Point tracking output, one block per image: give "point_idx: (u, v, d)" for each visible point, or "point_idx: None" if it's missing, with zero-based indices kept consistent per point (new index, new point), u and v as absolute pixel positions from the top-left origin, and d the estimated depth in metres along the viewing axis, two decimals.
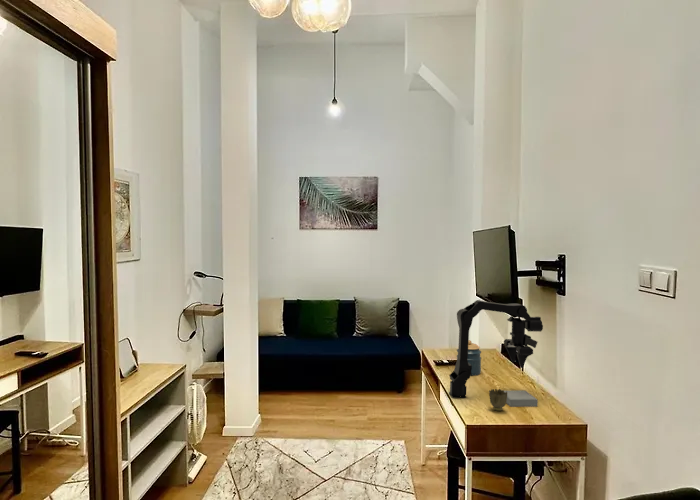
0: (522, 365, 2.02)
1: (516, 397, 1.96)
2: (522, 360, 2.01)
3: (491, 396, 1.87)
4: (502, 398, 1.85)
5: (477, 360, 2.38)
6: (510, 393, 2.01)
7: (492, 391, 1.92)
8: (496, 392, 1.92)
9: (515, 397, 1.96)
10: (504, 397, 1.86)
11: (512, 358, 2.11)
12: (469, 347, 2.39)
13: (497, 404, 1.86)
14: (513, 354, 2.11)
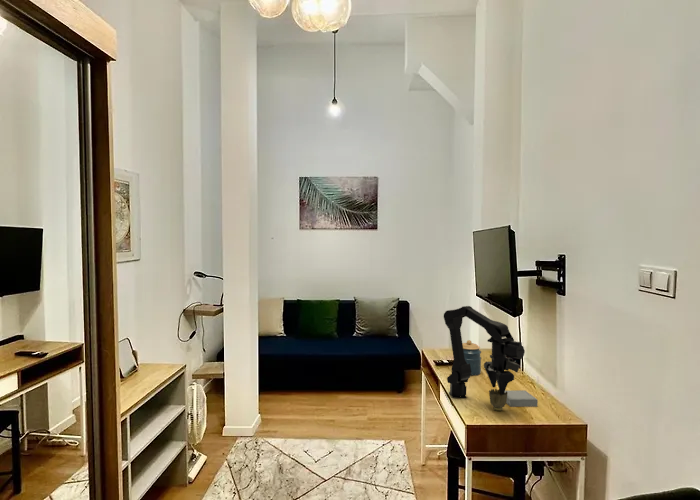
0: (502, 392, 1.84)
1: (516, 397, 1.96)
2: (502, 386, 1.83)
3: (491, 396, 1.87)
4: (502, 398, 1.85)
5: (477, 360, 2.38)
6: (510, 393, 2.01)
7: (492, 391, 1.92)
8: (496, 392, 1.92)
9: (515, 397, 1.96)
10: (504, 397, 1.86)
11: (493, 383, 1.93)
12: (469, 347, 2.39)
13: (497, 404, 1.86)
14: (494, 379, 1.93)
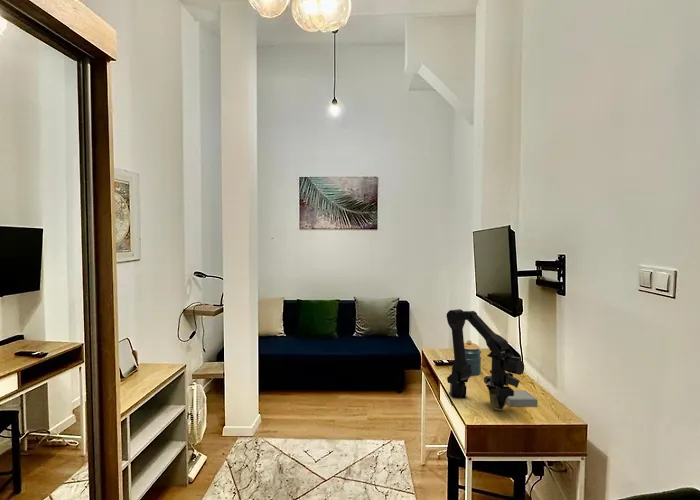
0: (501, 406, 1.85)
1: (516, 397, 1.96)
2: (501, 401, 1.84)
3: (491, 396, 1.87)
4: None
5: (477, 360, 2.38)
6: None
7: (492, 391, 1.92)
8: None
9: (515, 397, 1.96)
10: None
11: None
12: (469, 347, 2.39)
13: (497, 404, 1.86)
14: None
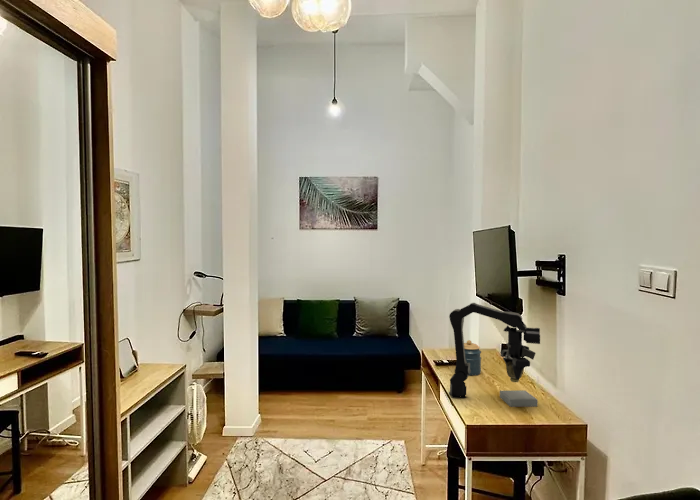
0: (517, 377, 1.93)
1: (516, 397, 1.96)
2: (518, 372, 1.92)
3: (508, 368, 1.95)
4: None
5: (477, 360, 2.38)
6: (510, 393, 2.01)
7: (509, 363, 2.00)
8: None
9: (515, 397, 1.96)
10: None
11: None
12: (469, 347, 2.39)
13: (513, 375, 1.94)
14: None
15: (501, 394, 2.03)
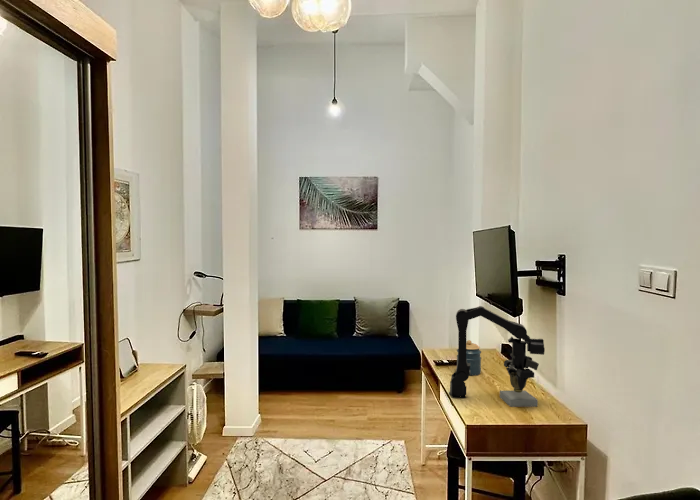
0: (521, 387, 1.96)
1: (516, 397, 1.96)
2: (521, 382, 1.95)
3: (512, 378, 1.98)
4: None
5: (477, 360, 2.38)
6: (510, 393, 2.01)
7: (512, 374, 2.02)
8: None
9: (515, 397, 1.96)
10: None
11: None
12: (469, 347, 2.39)
13: (517, 385, 1.97)
14: None
15: (501, 394, 2.03)
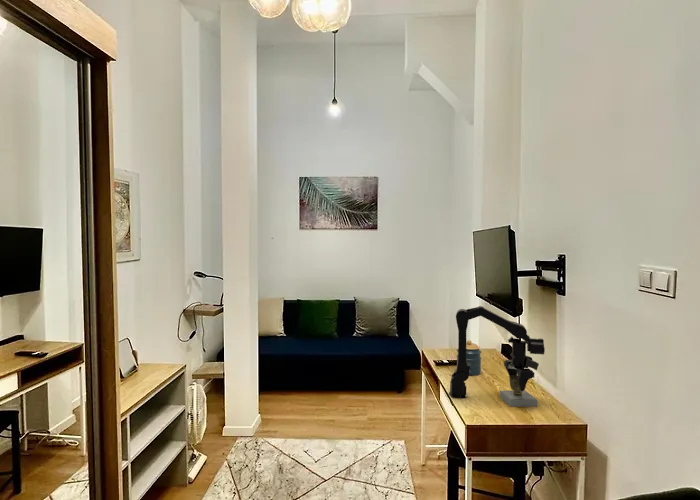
0: (522, 388, 1.95)
1: (516, 397, 1.96)
2: (523, 383, 1.94)
3: (511, 381, 1.98)
4: None
5: (477, 360, 2.38)
6: (510, 393, 2.01)
7: (512, 377, 2.03)
8: (516, 378, 2.03)
9: (515, 397, 1.96)
10: None
11: None
12: (469, 347, 2.39)
13: (517, 388, 1.97)
14: None
15: (501, 394, 2.03)
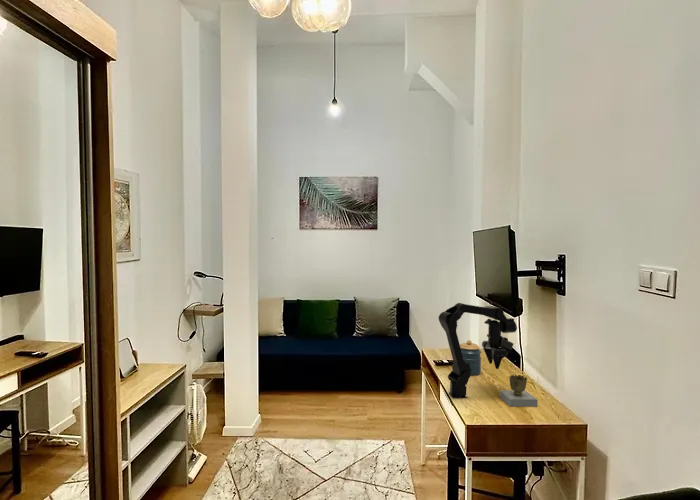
0: (497, 366, 2.07)
1: (516, 397, 1.96)
2: (497, 361, 2.06)
3: (511, 381, 1.98)
4: (522, 383, 1.96)
5: (477, 360, 2.38)
6: (510, 393, 2.01)
7: (512, 377, 2.03)
8: (516, 378, 2.03)
9: (515, 397, 1.96)
10: (524, 382, 1.96)
11: (489, 359, 2.16)
12: (469, 347, 2.39)
13: (517, 388, 1.97)
14: (490, 356, 2.16)
15: (501, 394, 2.03)
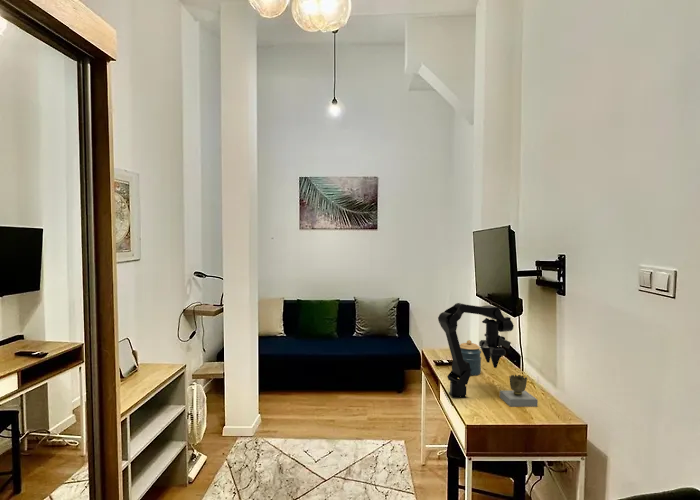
0: (495, 365, 2.08)
1: (516, 397, 1.96)
2: (495, 360, 2.07)
3: (511, 381, 1.98)
4: (522, 383, 1.96)
5: (477, 360, 2.38)
6: (510, 393, 2.01)
7: (512, 377, 2.03)
8: (516, 378, 2.03)
9: (515, 397, 1.96)
10: (524, 382, 1.96)
11: (487, 358, 2.17)
12: (469, 347, 2.39)
13: (517, 388, 1.97)
14: (488, 355, 2.18)
15: (501, 394, 2.03)
